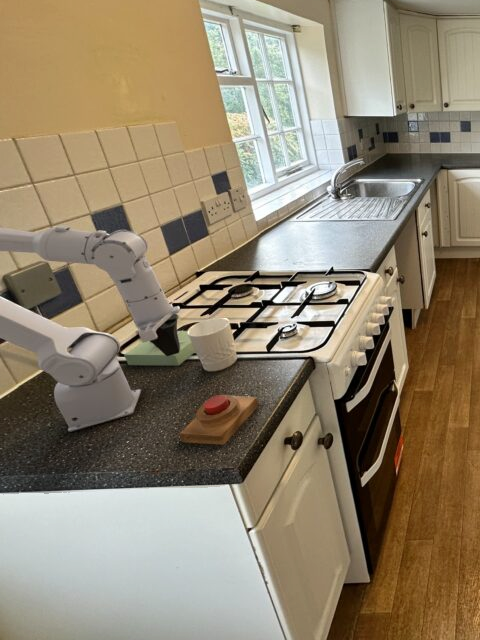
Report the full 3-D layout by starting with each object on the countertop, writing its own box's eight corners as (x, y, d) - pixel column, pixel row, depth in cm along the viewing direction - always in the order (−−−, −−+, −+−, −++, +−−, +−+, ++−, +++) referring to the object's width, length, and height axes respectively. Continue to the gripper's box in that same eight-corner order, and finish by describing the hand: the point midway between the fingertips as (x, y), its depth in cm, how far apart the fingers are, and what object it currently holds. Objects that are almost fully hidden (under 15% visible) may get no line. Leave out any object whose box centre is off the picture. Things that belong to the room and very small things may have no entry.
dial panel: (128, 365, 96) (123, 353, 95) (162, 340, 105) (158, 330, 104) (178, 365, 96) (174, 354, 95) (208, 341, 105) (205, 330, 104)
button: (220, 416, 76) (217, 408, 76) (201, 415, 77) (198, 407, 76) (233, 402, 80) (231, 395, 79) (215, 401, 80) (213, 394, 79)
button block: (224, 445, 75) (218, 428, 73) (182, 442, 75) (175, 425, 74) (259, 405, 84) (254, 389, 82) (222, 403, 84) (216, 388, 83)
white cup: (208, 378, 92) (194, 340, 88) (195, 364, 96) (181, 328, 92) (246, 360, 97) (235, 324, 94) (232, 348, 102) (221, 313, 98)
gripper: (162, 303, 73) (192, 364, 79) (175, 274, 85) (200, 329, 90) (111, 316, 70) (147, 379, 76) (132, 285, 82) (161, 340, 87)
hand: (173, 353), depth 83 cm, fingers closed
